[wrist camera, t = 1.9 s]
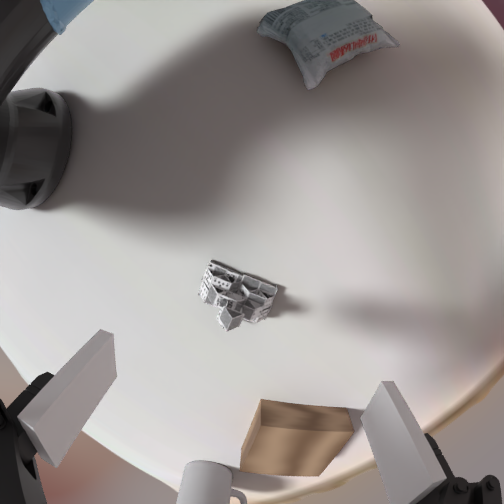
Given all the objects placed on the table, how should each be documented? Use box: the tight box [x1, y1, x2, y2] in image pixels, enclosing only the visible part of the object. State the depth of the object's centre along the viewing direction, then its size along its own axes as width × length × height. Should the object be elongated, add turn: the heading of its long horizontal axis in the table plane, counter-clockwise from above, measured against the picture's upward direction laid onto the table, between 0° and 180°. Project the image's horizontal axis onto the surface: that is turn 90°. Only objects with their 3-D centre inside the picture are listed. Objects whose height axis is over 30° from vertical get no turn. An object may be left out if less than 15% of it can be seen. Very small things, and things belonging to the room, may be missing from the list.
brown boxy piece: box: [240, 399, 354, 476], centre depth 30 cm, size 12×12×5 cm
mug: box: [176, 461, 247, 504], centre depth 31 cm, size 12×8×11 cm
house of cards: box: [198, 260, 278, 332], centre depth 25 cm, size 9×9×8 cm
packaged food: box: [257, 0, 400, 90], centre depth 19 cm, size 9×12×5 cm
